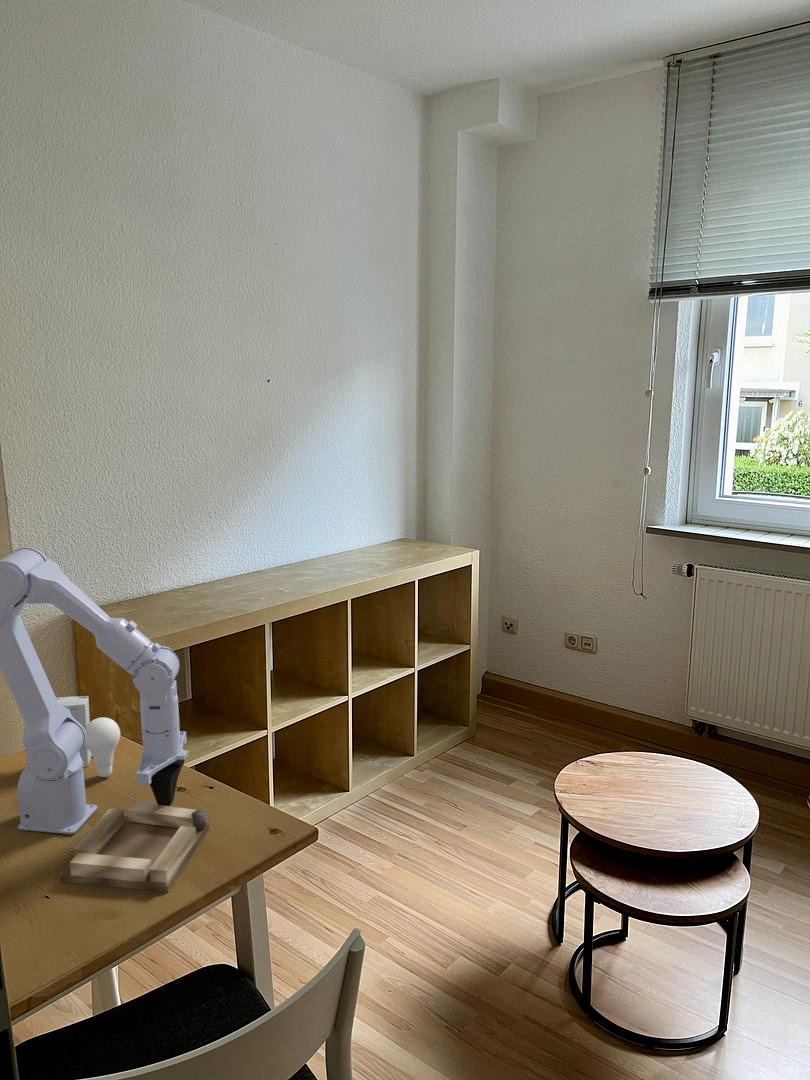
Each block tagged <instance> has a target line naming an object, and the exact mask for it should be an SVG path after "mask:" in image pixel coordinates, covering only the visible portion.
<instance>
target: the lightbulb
mask: <svg viewBox="0 0 810 1080" xmlns="http://www.w3.org/2000/svg"><path fill="white" fill-rule="evenodd" d="M85 733H86V741H85V745H86V747H87V748H88V750H89V751H90V752H91V754H92V759H93V763H94V765H95V768H96V774H97V776H98V777H102V778H103V779H105V778H108V777H109V776H110V775H112V773H113V763H114V754H115V751H116V748H117V746H118V745H119V742H120V739H121V728H120V727H119V724H118V723H117V722H116V721H115V720H113V719H112V718H109V717H104V716H103V717H97V718H95V719H93V720H91V721H90V723H89V724H88V725H87V726H86V728H85Z"/></svg>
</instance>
